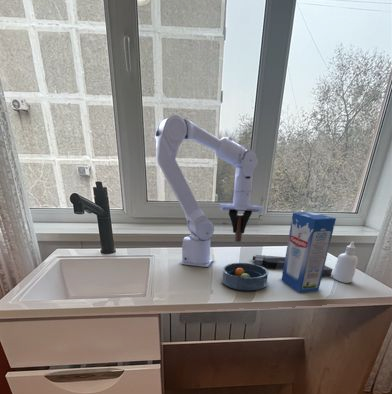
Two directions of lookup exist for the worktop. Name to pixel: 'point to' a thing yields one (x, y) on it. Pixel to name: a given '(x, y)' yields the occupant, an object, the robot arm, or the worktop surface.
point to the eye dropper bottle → (346, 265)
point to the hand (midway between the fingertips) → (238, 232)
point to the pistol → (280, 263)
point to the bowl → (245, 283)
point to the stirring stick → (239, 227)
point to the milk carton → (307, 250)
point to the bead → (239, 272)
